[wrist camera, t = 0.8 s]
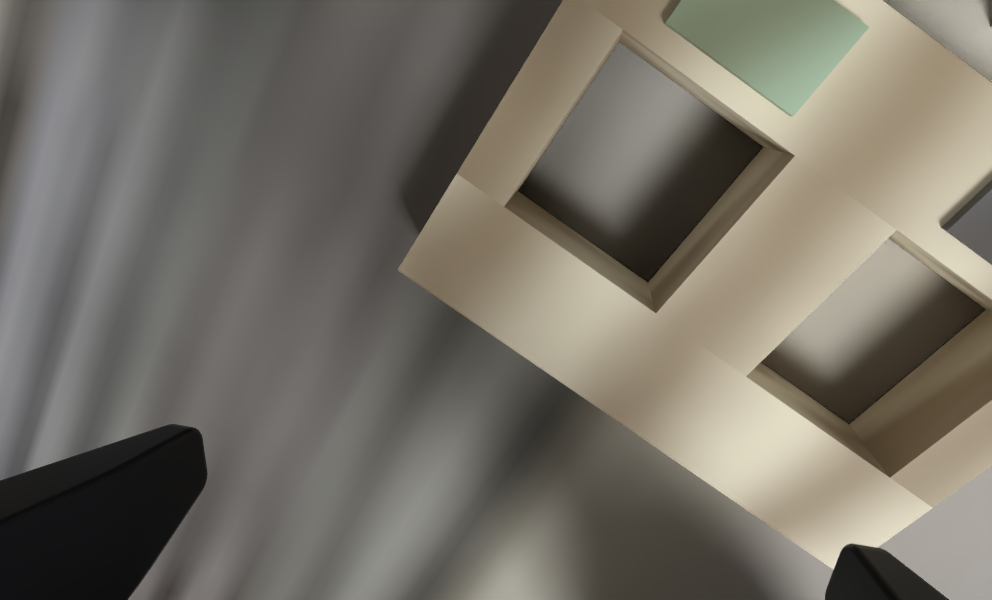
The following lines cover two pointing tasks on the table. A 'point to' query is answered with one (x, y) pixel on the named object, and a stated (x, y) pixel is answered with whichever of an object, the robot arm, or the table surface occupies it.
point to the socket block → (749, 253)
